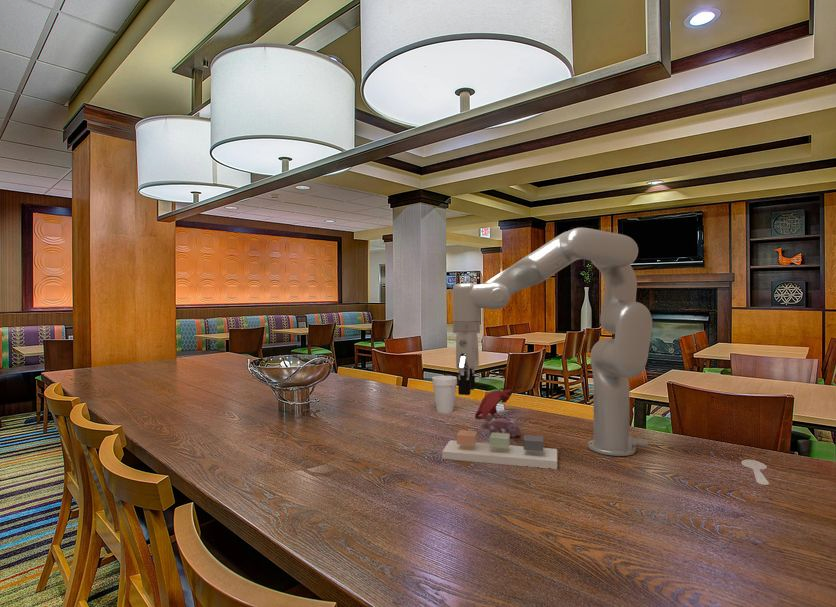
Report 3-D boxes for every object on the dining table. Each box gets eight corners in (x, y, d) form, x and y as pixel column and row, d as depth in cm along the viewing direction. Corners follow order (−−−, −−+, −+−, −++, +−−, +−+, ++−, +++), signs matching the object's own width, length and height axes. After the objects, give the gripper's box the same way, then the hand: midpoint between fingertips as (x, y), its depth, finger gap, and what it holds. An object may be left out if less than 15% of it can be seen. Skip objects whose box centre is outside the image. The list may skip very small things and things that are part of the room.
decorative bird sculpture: (475, 442, 154) (505, 412, 149) (456, 421, 157) (485, 391, 152) (499, 421, 179) (525, 395, 175) (482, 403, 182) (507, 377, 178)
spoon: (749, 483, 108) (749, 481, 108) (739, 459, 124) (739, 457, 124) (778, 488, 106) (778, 485, 106) (763, 463, 122) (763, 461, 122)
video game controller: (488, 439, 148) (484, 422, 145) (492, 429, 151) (489, 412, 148) (518, 443, 143) (515, 426, 140) (522, 433, 147) (519, 416, 144)
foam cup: (428, 410, 180) (428, 376, 180) (449, 407, 184) (449, 374, 184) (439, 415, 172) (439, 380, 171) (461, 412, 175) (461, 378, 175)
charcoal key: (543, 445, 126) (543, 436, 125) (543, 451, 121) (543, 441, 121) (524, 443, 127) (524, 434, 127) (523, 449, 122) (523, 440, 122)
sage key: (509, 442, 128) (509, 433, 128) (508, 448, 123) (508, 439, 123) (491, 441, 129) (491, 432, 129) (489, 446, 125) (489, 437, 125)
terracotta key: (477, 440, 131) (477, 431, 131) (474, 445, 126) (474, 436, 126) (460, 438, 132) (460, 430, 132) (456, 444, 127) (456, 435, 127)
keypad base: (557, 456, 127) (556, 448, 127) (557, 469, 117) (557, 461, 117) (450, 447, 135) (450, 440, 135) (442, 458, 126) (442, 451, 126)
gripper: (474, 330, 119) (475, 399, 119) (484, 325, 136) (484, 386, 136) (446, 329, 121) (446, 397, 121) (459, 325, 138) (459, 385, 138)
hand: (466, 391), depth 129 cm, fingers open, 6 cm apart
